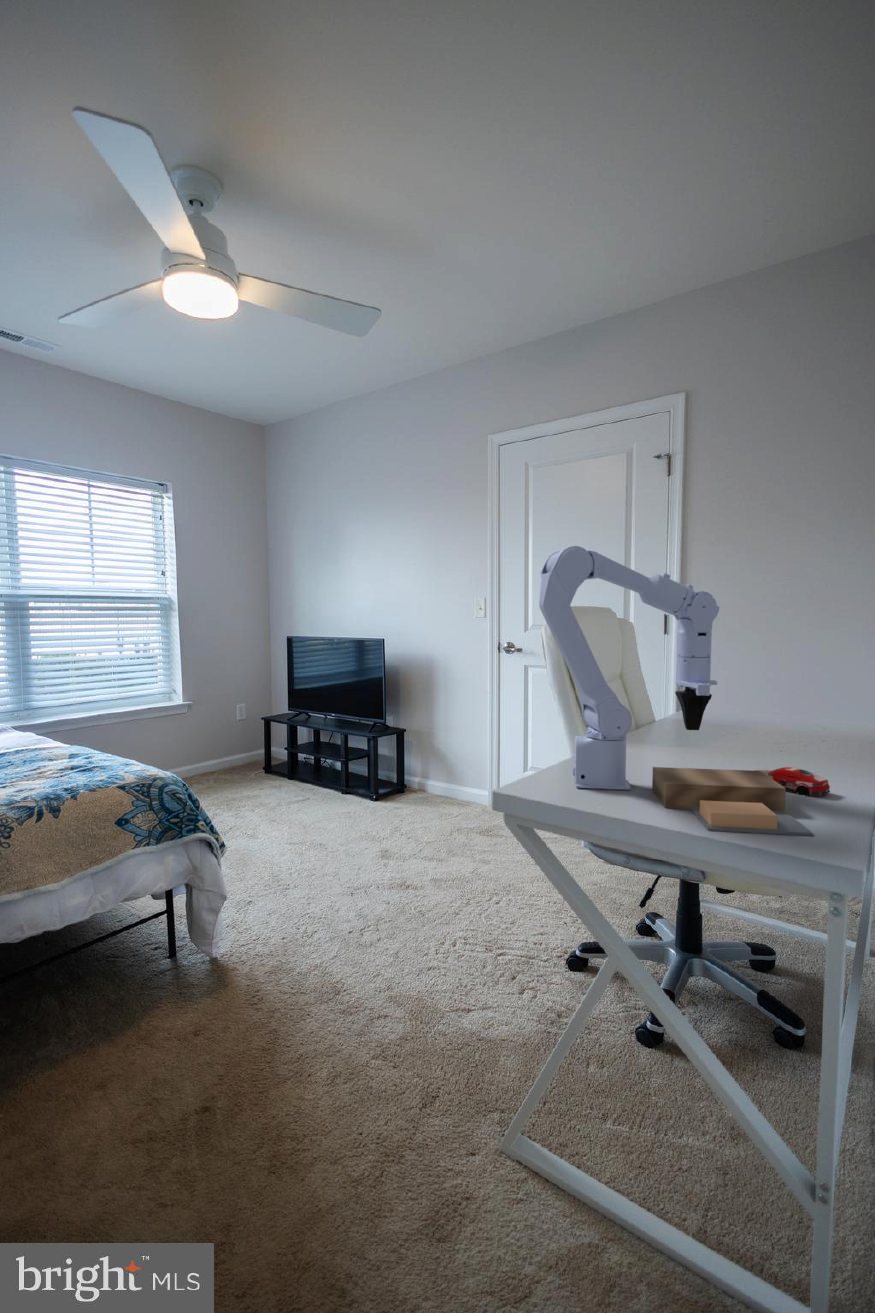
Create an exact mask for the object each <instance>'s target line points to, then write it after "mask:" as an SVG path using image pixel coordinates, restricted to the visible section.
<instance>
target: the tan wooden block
mask: <svg viewBox="0 0 875 1313" xmlns="http://www.w3.org/2000/svg"><path fill="white" fill-rule="evenodd" d="M700 814H701V815H702V817H703V818H704V819H705V820H706V821H707V822H708V824H709V825H710V826H719V827H740V828H760V829H777V815H776V814H775V813H774V812H772V811H771V810H770V809H769V808H767V807H766V806H765V805H764V804H763V803H749V802H725V801H702V800H700Z"/></svg>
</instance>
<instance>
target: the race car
mask: <svg viewBox="0 0 875 1313" xmlns="http://www.w3.org/2000/svg"><path fill="white" fill-rule="evenodd" d="M753 771H761V772H763V773H764V774H766V775H767V776H769V777H770V778H771V779H773V780H774V781H776V782H777V783H779V784H780V785H782V786H783V787H784V788H786V791H785V792H788V793H794V794H798V795H799V796H803V795H805V796H804V797H808V796H813V797H814V796H818V797H819V796H825V795H826V794H827V795H828V794H829V793H830V792H831V791H830V788H831V787H830V784H829V779H827V778H825V777H822V776H820V775H818V774H816V773H814V772H811V771H808V770H805V769H801V768H798V767H797V768H796V767H789V766H785V767H780V768H776V769H756V770H753Z"/></svg>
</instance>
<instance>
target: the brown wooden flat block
mask: <svg viewBox="0 0 875 1313" xmlns="http://www.w3.org/2000/svg"><path fill="white" fill-rule="evenodd" d="M651 782H652V784H651V785H652V787H651V789H652V791H653V792H654V793H655V796H656V797H657V798H658V800H659V802H660V803H661V804H662V806H663V807H664V808H665V807H666V808H665V809H679V810H680V809H681V810H683V809H686V810H687V809H688V810H691V807H700V800H702V801H725V802H749V803H763V804H764V805H765V806H766V807H767V808H769V809H770V810H777V811H786V792H787V791H786V788H784V787H783V786H782V785H780V784H779V783H777V782H776V781H774V780H773V779H771V778H770V777H769V776H767V775H766V774H764V773H763V772H761V771H754V770H745V769H741V770H740V769H722V768H719V769H715V768H694V767H693V768H691V767H689V768H688V767H666V766H665V767H664V766H663V767H661V766H660V767H659V766H652V781H651Z"/></svg>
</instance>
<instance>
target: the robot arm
mask: <svg viewBox="0 0 875 1313" xmlns="http://www.w3.org/2000/svg"><path fill="white" fill-rule="evenodd" d="M542 566H543V567H542V568H541V571H540V579H541V582H540V590H539V591H540V592H539V598H538V599H539V601H538V602H539V603H538V606H539V610H540V611H541V613H542V615H543V619H545V622H546V624H547V626H548V629H549V630H550V632H551V635H552V637H553V639H554V641H555V643H556V645H557V647H558V650H559V652H560V654H561V656H562V659H563V660H564V663H565V664H566V667H567V669H568V670H569V672H570V675H571V677H572V680H573V681H574V683H575V685H576V688H577V689H578V692H579V694H578V695H579V696H578V701H579V702H580V705H581V710H582V712H581V715H582V716H581V717H582V719H583V722H584V724H585V725H586V726H587V728H586V731H585V735H575V736H574V746H573V748H574V749H573V751H574V752H573V753H574V755H573V765H572V776H573V779H574V784H575V787H576V788H580V789H599V790H600V789H601V790H623V791H624V790H626V791H627V790H628V791H629V790H631V786H630V784H629V782H628V780H627V778H626V777H627V776H626V775H627V773H626V771H627V770H626V769H627V767H626V766H627V734H628V733H629V731H630V730H631V728H632V724H633V717H632V713H631V711H630V710H629V709H628V708H627V707H626V706H625V705H624V704H622V702H621V701H620V700H619V697H618V696H617V694H616V692H615V691H613V689H612V688H611V687H610V686H609V684H608V683H607V681H606V679H605V678H604V674H603V673H602V670H601V669H600V666H599V665H598V662H597V660H596V658H595V656H594V654H593V652H592V650H591V648H590V645H589V643H588V641H587V639H586V637H585V635H584V633H583V630H582V628H581V625H580V624H579V621H578V619H577V617H576V615H575V613H574V611H573V609H572V607H571V603H572V601H573V599H574V597H575V595H576V592H577V591H578V589H579V588H580V586H581V585H582V584H583V583H584V582H585V581H586V580H587V581H588V580H593V579H596V580H597V579H599V580H603V581H605V582H608V583H611V584H613V585H616V586H618V587H621V588H624V589H627V590H630V591H632V592H634V593H638V595H639V598H640V601H641V602H642V603H643V604H646V605H648V606H650V607H653V608H655V609H656V610H657V609H658V610H660V611H662V612H665V613H667V614H669V615H671V616H673V617H674V618H675V619H676V621H677V622H678V626H677V629H678V630H677V656H676V657H677V662H676V663H677V664H676V665H677V666H676V668H677V669H676V679H675V685H677V686H679V687H680V688H684V689H683V690H676V691H675V696H676V698H677V700H678V702H679V705H680V708H681V712H682V718H683V725H684V727H685V730H687V731H699V730H700V727H701V724H702V720H703V716H704V713H705V710H706V707H707V705H708V703H710V701H711V699H712V697H713V695H712V694H711V693H710V690H711V689H710V687H711V686H717V685H718V680H714V679H711V666H712V665H711V664H712V634H713V633H712V631H713V622H714V621H715V619H716V618H717V616H718V615H719V612H720V606H718V604H717V601H716V599H715V598H714V596H713V594H711V593H709V592H707V591H704V590H703V591H702V590H701V591H695V590H694V586H693V585H691V584H682V583H680V582H678V581H676V580H673V579H671V575H670V574H668V573H659V574H658V573H655V574H652V575H649V576H646V575H644V574H642V573H640V572H638V571H636V570H634V569H632V568H629V567H628V566H625V565H623V564H621V563H619V562H617V561H615V560H613V559H611V558H609V557H607V556H605V555H602V554H601V553H599V552H597V551H594V550H587V549H585V548H584V547H582V546H578V545H572V546H568V547H566V548H564V549H563V550H561V551H555V552H553V553H552V554H550V555H549V556H548V557H547V558H546V560H545V562H544V564H543V565H542Z"/></svg>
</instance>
